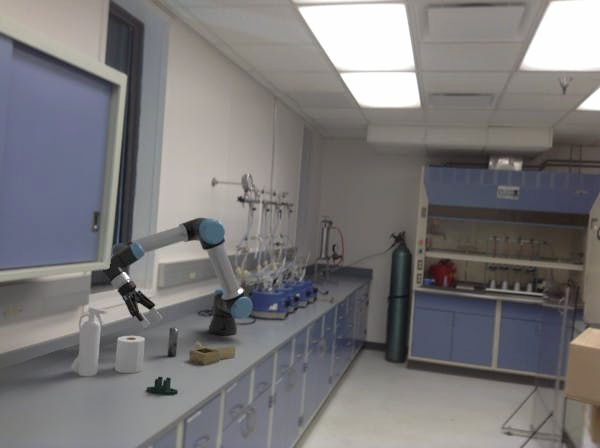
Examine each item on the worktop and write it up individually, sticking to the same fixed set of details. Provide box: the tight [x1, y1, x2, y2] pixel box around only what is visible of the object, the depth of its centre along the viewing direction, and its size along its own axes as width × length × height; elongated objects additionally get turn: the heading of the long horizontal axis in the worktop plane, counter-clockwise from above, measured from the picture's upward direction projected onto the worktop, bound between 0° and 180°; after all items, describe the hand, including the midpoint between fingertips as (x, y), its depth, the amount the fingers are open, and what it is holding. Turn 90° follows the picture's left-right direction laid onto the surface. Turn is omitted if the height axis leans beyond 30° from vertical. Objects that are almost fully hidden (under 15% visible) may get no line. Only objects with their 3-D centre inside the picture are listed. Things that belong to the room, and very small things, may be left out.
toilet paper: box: [114, 335, 146, 374], centre depth 205 cm, size 10×10×12 cm
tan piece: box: [189, 341, 236, 366], centre depth 232 cm, size 20×18×4 cm
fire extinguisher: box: [70, 306, 109, 377], centre depth 196 cm, size 7×12×25 cm, turn 77°
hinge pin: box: [167, 327, 179, 358], centre depth 228 cm, size 4×4×12 cm
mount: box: [146, 376, 179, 396], centre depth 184 cm, size 11×4×5 cm, turn 85°
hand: (154, 323), depth 229 cm, fingers open, 13 cm apart
